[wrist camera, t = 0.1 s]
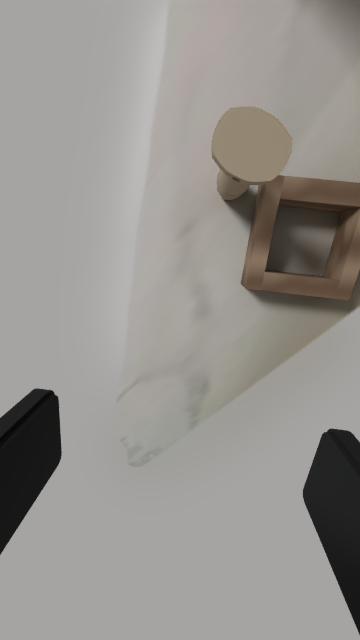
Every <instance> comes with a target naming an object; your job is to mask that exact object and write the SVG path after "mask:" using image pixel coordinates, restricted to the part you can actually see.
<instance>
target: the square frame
mask: <svg viewBox="0 0 360 640" xmlns="http://www.w3.org/2000/svg"><path fill="white" fill-rule="evenodd" d="M278 206H285V207H295V208H305V209H315V210H325V211H336V212H341V215H340V219H339V222H338V226H337V229H336V233H335V236H334V240H333V244H332V247H331V251H330V254H329V258H328V261H327V265H326V269H325V272H324V276H314V275H305V274H296V273H287V272H278V271H269V270H265V268H266V263H267V258H268V254H269V249H270V244H271V239H272V234H273V229H274V225H275V220H276V215H277V210H278ZM359 270H360V183H354V182H344V181H333V180H322V179H312V178H301V177H290V176H280V175H278V176H277V177H276V178H275V179H273V180H272V181H271V182H269V183H268V184H261V185H259V186H258V191H257V197H256V202H255V208H254V214H253V219H252V225H251V230H250V236H249V241H248V247H247V253H246V258H245V264H244V269H243V275H242V280H241V284H242V285H243V286H244V287H245V288H246V289H254V290H262V291H271V292H280V293H289V294H297V295H306V296H315V297H324V298H333V299H341V300H350V298H351V294H352V291H353V288H354V285H355V282H356V279H357V276H358V273H359Z"/></svg>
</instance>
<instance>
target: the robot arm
mask: <svg viewBox="0 0 360 640" xmlns="http://www.w3.org/2000/svg"><path fill="white" fill-rule="evenodd" d="M60 459H61V435H60V418H59V401H58V397H57V396H56V395H55V394H54V392H53V391H52V390H45V389H34V390H32V391H31V392H30V393H29V394H28V395H27V396H25V397H24V398H23V399H22V400H21V401H20V402H18V403H17V404H16V405H15V406H14V407H13V408H11V409H10V410H9V411H8V412H7V413H6V414H4V415H3V416H2V417H1V418H0V554H1V553H2V551H3V550H4V548H5V546H6V545H7V543H8V542H9V540H10V539H11V537H12V536H13V534H14V533H15V531H16V529H17V528H18V526H19V525H20V523H21V522H22V520H23V519H24V517H25V515H26V514H27V512H28V511H29V509H30V508H31V506H32V505H33V503H34V502H35V500H36V499H37V497H38V495H39V494H40V492H41V490H42V489H43V488H44V486H45V485H46V483H47V481H48V480H49V478H50V477H51V475H52V474H53V472H54V471H55V469H56V468H57V466H58V464H59V462H60ZM303 498H304V502H305V505H306V507H307V509H308V512H309V514H310V517H311V519H312V521H313V524H314V526H315V529H316V531H317V533H318V536H319V538H320V541H321V543H322V545H323V547H324V550H325V553H326V555H327V557H328V560H329V562H330V565H331V567H332V569H333V572H334V574H335V576H336V579H337V581H338V584H339V586H340V589H341V591H342V593H343V596H344V598H345V601H346V603H347V605H348V608H349V610H350V613H351V615H352V617H353V620H354V622H355V624H356V627H357V629H358V632H359V634H360V442H359V441H358V440H357V439H356V438H355V436H354V435H353V434H352V433H351V432H349V431H345V430H338V429H329V430H328V431H327V432H324V433H323V434H322V437H321V440H320V443H319V446H318V448H317V451H316V454H315V457H314V460H313V463H312V466H311V469H310V471H309V474H308V477H307V480H306V483H305V486H304V489H303Z"/></svg>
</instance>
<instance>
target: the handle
mask: <svg viewBox="0 0 360 640" xmlns="http://www.w3.org/2000/svg"><path fill="white" fill-rule="evenodd" d="M291 149H292V138H291V136H290V135H289V133H288V132H287V130H286V129H285V127H284V126H283V124H282V123H281V122H280V121H279V119H278V118H276V117H275V116H273V115H272V114H270V113H268V112H266V111H264V110H262V109H259V108H256V107H236V108H230V109H229V110H228V111H227V112H226V113H225V114H224V115H223V116H222V117H221V119H220V120H219V122H218V124H217V126H216V128H215V131H214V134H213V139H212V158H213V159H214V161H215V162H216V164H217V165H218V166H219V168H220V171H219V173H218V178H217V191H218V192H219V194H220V195H221V196H222V199H223V200H225V201H227V200H233V199H236V198H238V197H240V196H241V195H242V194H243V193H244V192H245V191H246V190H247V189H248V188H249V186H250V185H261V184H268V183H269V182H271V181H272V180H273V179H275V178H276V177H277V176H278V175H279V174H280V173H281V171H282V170H283V169H284V167H285V165H286V164H287V161H288V159H289V157H290V153H291Z"/></svg>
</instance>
